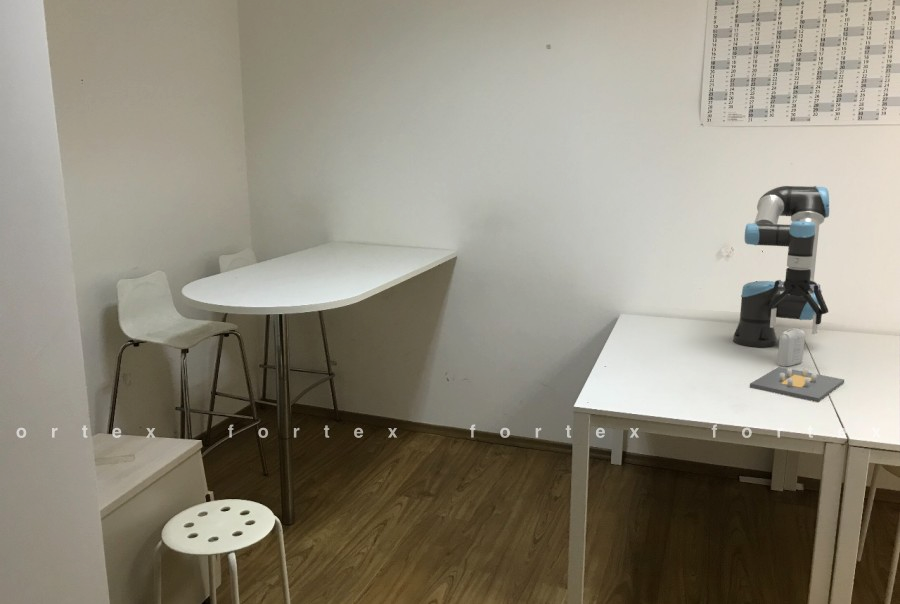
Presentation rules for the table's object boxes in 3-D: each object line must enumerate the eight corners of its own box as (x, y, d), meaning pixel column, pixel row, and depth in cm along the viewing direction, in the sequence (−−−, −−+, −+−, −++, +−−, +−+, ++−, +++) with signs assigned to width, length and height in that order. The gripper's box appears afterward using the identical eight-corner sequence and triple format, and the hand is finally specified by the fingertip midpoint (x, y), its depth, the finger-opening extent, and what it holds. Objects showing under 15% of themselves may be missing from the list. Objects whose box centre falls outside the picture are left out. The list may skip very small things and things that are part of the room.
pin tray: (749, 387, 226) (750, 375, 226) (778, 370, 243) (779, 359, 243) (818, 402, 213) (819, 390, 212) (844, 383, 230) (845, 371, 229)
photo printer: (792, 360, 255) (795, 325, 252) (804, 363, 251) (807, 328, 249) (775, 364, 249) (778, 329, 247) (786, 368, 246) (790, 332, 243)
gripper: (756, 265, 249) (751, 326, 253) (835, 273, 232) (828, 338, 236) (765, 263, 255) (760, 322, 259) (842, 270, 238) (836, 334, 242)
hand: (792, 330), depth 248 cm, fingers open, 13 cm apart
